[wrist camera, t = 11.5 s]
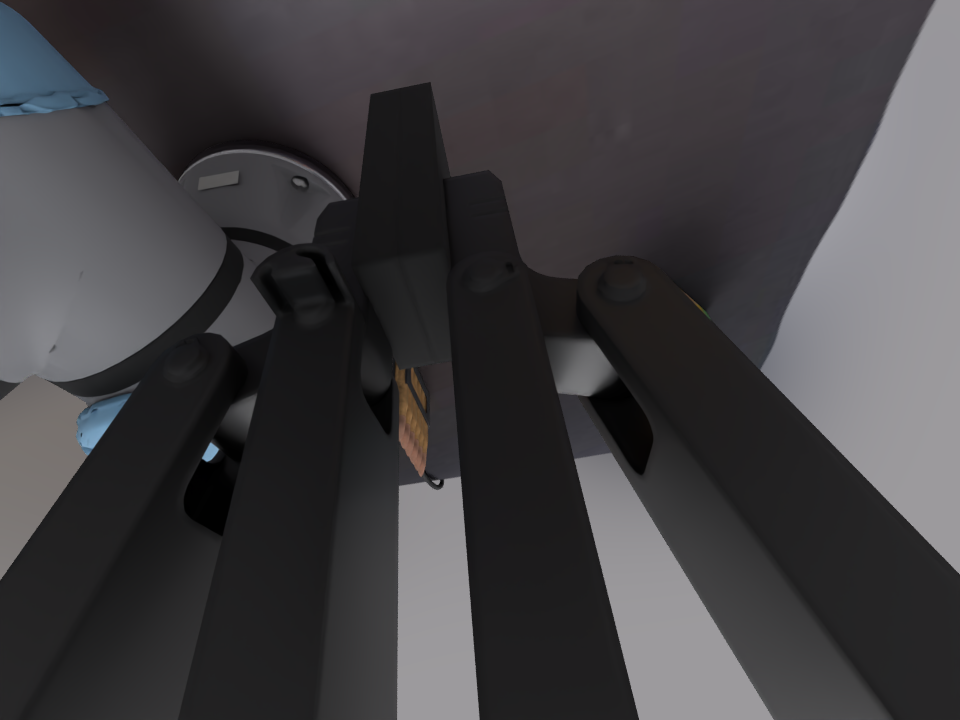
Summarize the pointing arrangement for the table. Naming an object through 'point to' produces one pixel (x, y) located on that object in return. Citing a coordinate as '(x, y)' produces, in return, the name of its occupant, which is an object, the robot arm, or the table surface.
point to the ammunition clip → (413, 414)
